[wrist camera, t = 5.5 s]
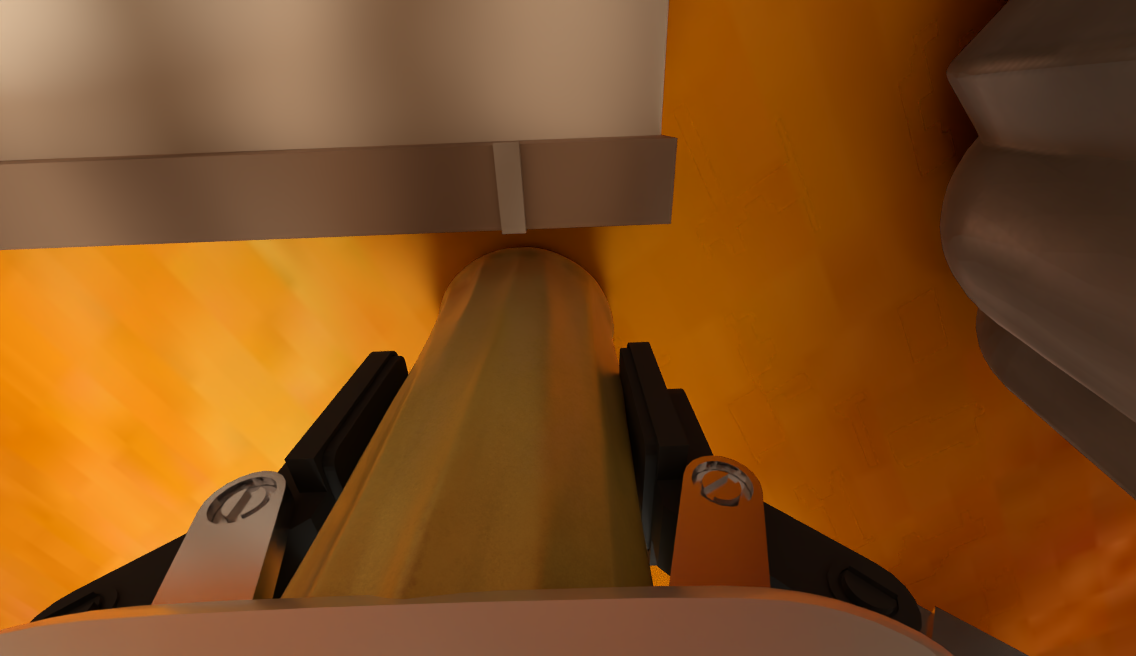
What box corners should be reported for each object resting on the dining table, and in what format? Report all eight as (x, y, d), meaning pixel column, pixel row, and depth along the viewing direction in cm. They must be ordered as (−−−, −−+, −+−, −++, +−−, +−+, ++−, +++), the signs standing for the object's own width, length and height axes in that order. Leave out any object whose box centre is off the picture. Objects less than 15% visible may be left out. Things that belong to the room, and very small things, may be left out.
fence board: (673, -284, 9) (726, -472, 6) (648, 203, 13) (672, 227, 11) (-459, -239, 9) (-939, -406, 6) (-100, 232, 13) (-277, 264, 11)
